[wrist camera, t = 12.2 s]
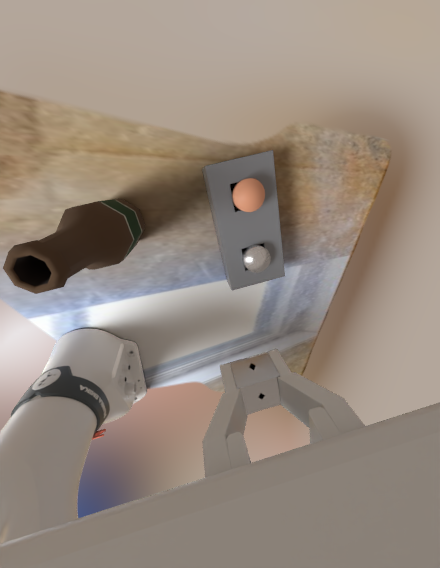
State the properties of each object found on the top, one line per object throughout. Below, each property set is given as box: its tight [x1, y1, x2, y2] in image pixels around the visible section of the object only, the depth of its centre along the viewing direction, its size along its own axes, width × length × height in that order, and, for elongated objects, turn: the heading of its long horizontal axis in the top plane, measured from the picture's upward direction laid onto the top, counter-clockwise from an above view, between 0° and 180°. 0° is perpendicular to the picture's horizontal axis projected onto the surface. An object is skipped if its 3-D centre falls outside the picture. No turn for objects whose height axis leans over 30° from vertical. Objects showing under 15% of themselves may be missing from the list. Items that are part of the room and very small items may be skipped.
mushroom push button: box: [232, 178, 265, 212], centre depth 33 cm, size 4×4×6 cm
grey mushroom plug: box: [242, 245, 271, 273], centre depth 38 cm, size 4×4×6 cm
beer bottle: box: [3, 199, 145, 294], centre depth 25 cm, size 8×8×24 cm
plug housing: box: [202, 150, 285, 290], centre depth 37 cm, size 20×10×5 cm, turn 12°
